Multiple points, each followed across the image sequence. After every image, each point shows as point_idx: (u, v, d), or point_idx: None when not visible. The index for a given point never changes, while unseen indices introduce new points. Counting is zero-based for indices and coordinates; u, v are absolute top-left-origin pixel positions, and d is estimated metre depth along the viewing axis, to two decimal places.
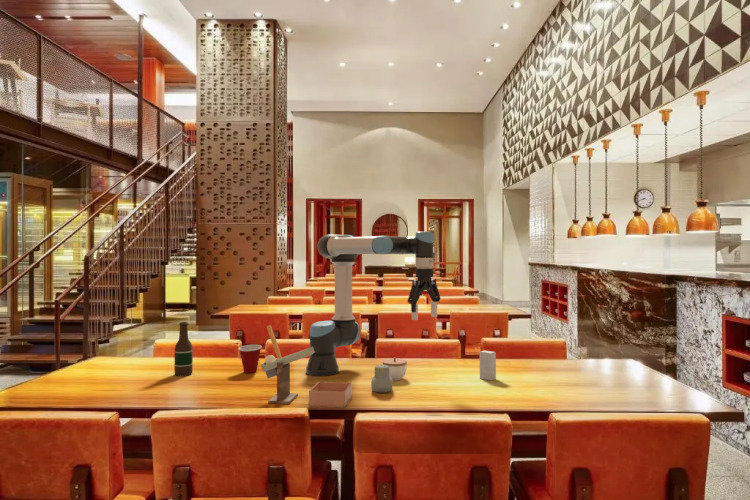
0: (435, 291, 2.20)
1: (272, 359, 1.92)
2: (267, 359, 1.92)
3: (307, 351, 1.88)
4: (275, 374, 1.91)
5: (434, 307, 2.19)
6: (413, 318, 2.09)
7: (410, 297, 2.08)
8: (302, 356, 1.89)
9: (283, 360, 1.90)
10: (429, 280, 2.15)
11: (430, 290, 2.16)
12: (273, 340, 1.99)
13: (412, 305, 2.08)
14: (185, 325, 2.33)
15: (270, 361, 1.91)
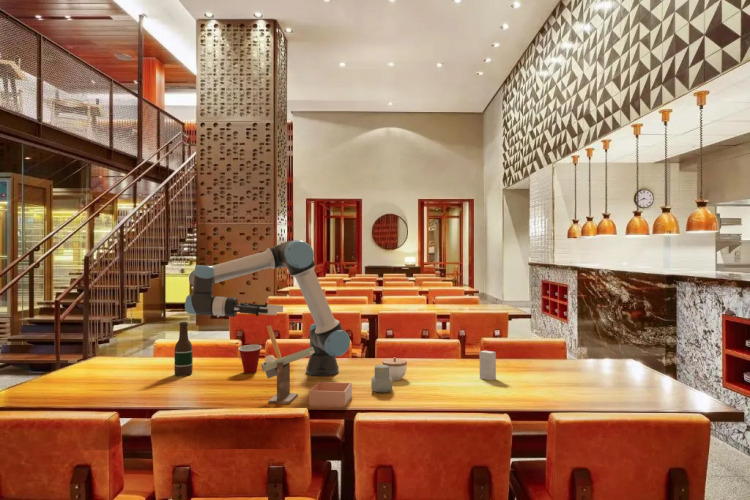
0: None
1: (272, 359, 1.92)
2: (267, 359, 1.92)
3: (307, 351, 1.88)
4: (275, 374, 1.91)
5: None
6: None
7: None
8: (302, 356, 1.89)
9: (283, 360, 1.90)
10: None
11: None
12: (273, 340, 1.99)
13: None
14: (185, 325, 2.33)
15: (270, 361, 1.91)
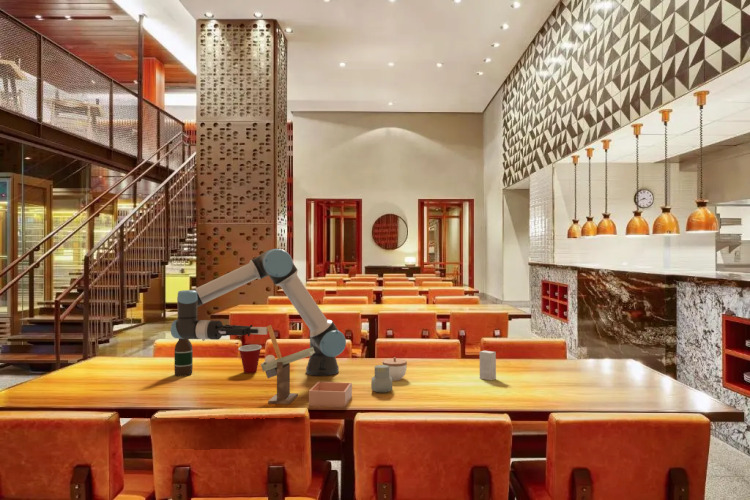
0: None
1: (272, 359, 1.92)
2: (267, 359, 1.92)
3: (307, 351, 1.88)
4: (275, 374, 1.91)
5: None
6: None
7: None
8: (302, 356, 1.89)
9: (283, 360, 1.90)
10: (218, 333, 1.99)
11: None
12: (273, 340, 1.99)
13: None
14: None
15: (270, 361, 1.91)
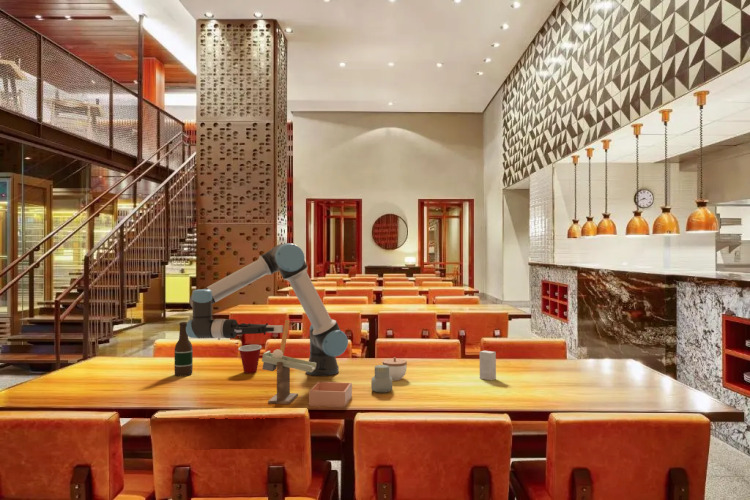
0: None
1: (278, 358, 1.92)
2: (277, 354, 1.91)
3: (310, 367, 1.88)
4: (271, 369, 1.91)
5: None
6: None
7: None
8: (303, 369, 1.88)
9: (285, 362, 1.89)
10: (234, 332, 1.99)
11: None
12: (284, 335, 1.98)
13: None
14: (185, 325, 2.33)
15: (276, 357, 1.91)
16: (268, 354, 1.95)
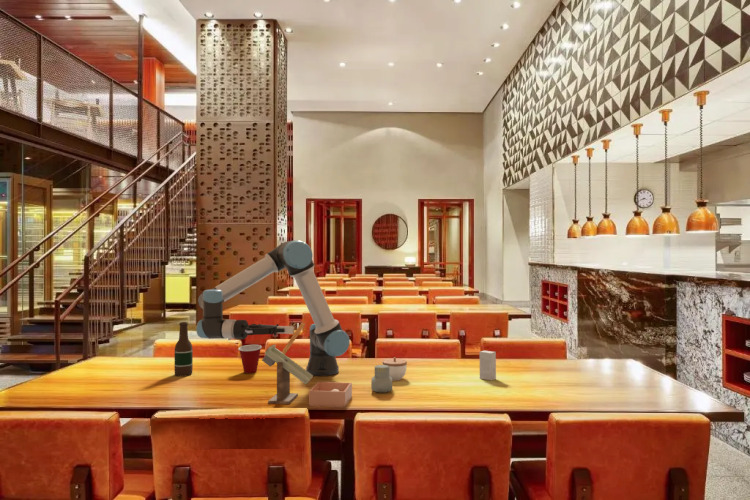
0: None
1: None
2: None
3: (306, 379, 1.88)
4: (269, 364, 1.91)
5: None
6: None
7: None
8: (300, 378, 1.89)
9: (285, 364, 1.89)
10: None
11: None
12: (294, 337, 1.97)
13: None
14: (185, 325, 2.33)
15: None
16: (272, 348, 1.94)
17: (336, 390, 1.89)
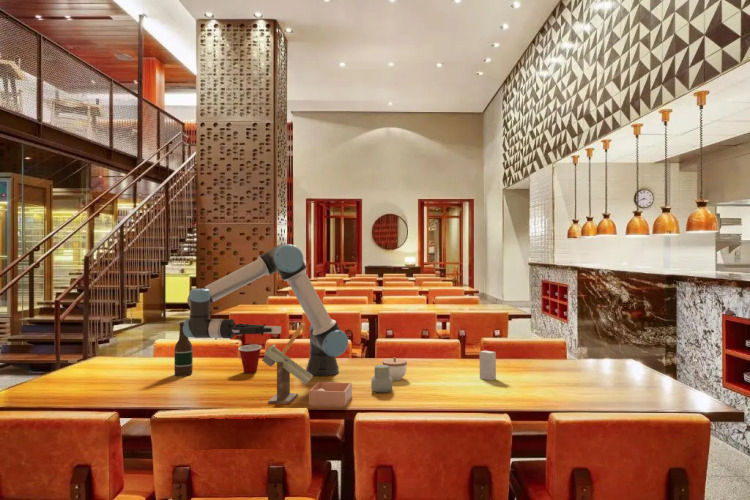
0: None
1: None
2: None
3: (306, 379, 1.88)
4: (269, 364, 1.91)
5: None
6: None
7: None
8: (300, 378, 1.89)
9: (285, 364, 1.89)
10: (231, 332, 1.98)
11: None
12: (294, 337, 1.97)
13: None
14: None
15: None
16: (272, 348, 1.94)
17: None
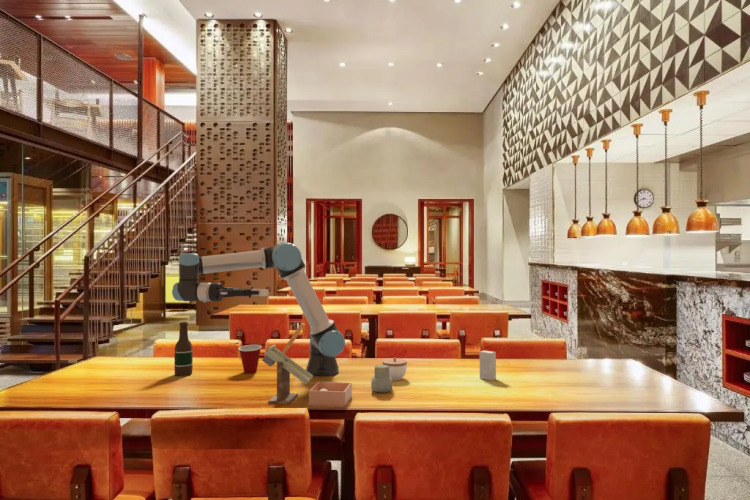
0: None
1: None
2: None
3: (306, 379, 1.88)
4: (269, 364, 1.91)
5: None
6: None
7: None
8: (300, 378, 1.89)
9: (285, 364, 1.89)
10: None
11: None
12: (294, 337, 1.97)
13: None
14: (185, 325, 2.33)
15: None
16: (272, 348, 1.94)
17: None
